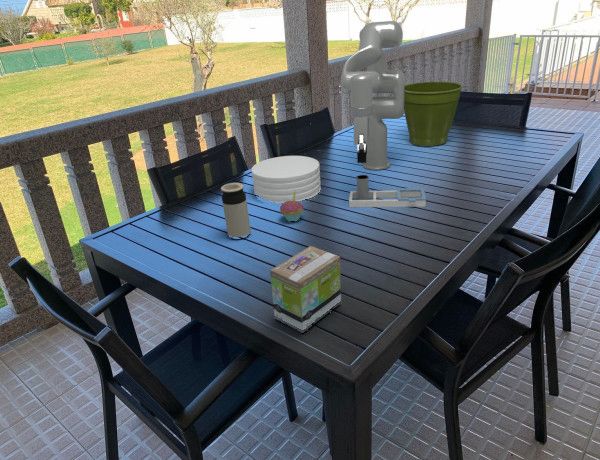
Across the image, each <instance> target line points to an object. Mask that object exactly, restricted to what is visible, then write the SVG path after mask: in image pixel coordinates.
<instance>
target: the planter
mask: <svg viewBox="0 0 600 460" xmlns="http://www.w3.org/2000/svg"><path fill="white" fill-rule="evenodd" d="M369 179H370V177H369V176H368V175H367V174H359V175H357V176H356V191H357V198H356V200H370V198H369V191H370V187H369V186H370V181H369Z"/></svg>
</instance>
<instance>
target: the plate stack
mask: <svg viewBox="0 0 600 460" xmlns="http://www.w3.org/2000/svg"><path fill="white" fill-rule="evenodd" d="M251 174H252V175H251V176H252V184H253V191H254V194H255V193H256V194H257V195H258V196H259V197H261V198H263V199H265V200H269V201H270V202H275V203H285V202H287V201H293V196H294V191H295V192H296V194H295V201H302V200H305V199H309V198H312V197H314V196H316V195H317V194H318V193H319V192H320V190H321V191H322V188H321V171H320V162H319V161H318V160H317V159H315V158H313V157H309V156H305V155H304V156H303V155H284V156H277V157H271V158H267V159H264V160H261V161H260V162H257V163H255V164H254V165H253V166H252V167H251ZM320 193H321V192H320ZM320 193H319V194H320ZM317 196H318V195H317ZM317 196H316V197H317ZM314 198H315V197H314Z"/></svg>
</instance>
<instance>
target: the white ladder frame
mask: <svg viewBox="0 0 600 460" xmlns="http://www.w3.org/2000/svg"><path fill="white" fill-rule="evenodd" d="M370 198H371V199H370ZM378 198H380V199H378ZM381 198H385V199H381ZM386 198H394V199H386ZM395 198H396V199H395ZM426 204H427V197H426V193H425V189H424V188H414V187H411V186H410V187H406V188H397V189H396V190H369V200H357V190H351V191H349V199H348V206H349V208H400V207H401V208H404V207H405V208H406V207H407V208H410V207H412V208H413V207H415V208H416V207H417V208H418V207H421V208H424V207H426V206H427V205H426Z"/></svg>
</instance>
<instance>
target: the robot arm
mask: <svg viewBox="0 0 600 460" xmlns="http://www.w3.org/2000/svg"><path fill="white" fill-rule="evenodd" d="M403 39H404V33H403V28H402V26H401V24H400V23H399V22H397V21H395V20H386V21H373V22H369V23H367V24H365V25H364V26H363V27H362V29H360V31H359V45H358V50H357V51H356V52H355V53H353V54H352V55H351V56H350V57H349V58H347V60H346V61H345V63H344V64H343V66H342V67H343V68H342V72H341V75H340V88H341V91H342V92H343V93H344V94H348V95H350V117H351V118H353V145H354V146H357V152H356V162H357V164H362V167H363V168H364V169H366V170H369V171H382V170H386V169H389V167H391V163H390V161H388V127H387V125H386V124H385V122H384V121H383V120H393V119H394V120H396V119H398V120H399V119H401V118H402V117H403V115H404V114H405V112H404V95H405V85H406V83H405V73H404V72H403V71H402V70H401V69H388V56H387V54H386V53H385V50H383V49H389V48H390V49H392V48H394V49H395V48H399V47H400V46H401V45H402V42H403ZM366 68H367V69H366ZM362 69H363V70H364V69H366V70H365V71H363V70H362ZM361 70H362V71H361ZM373 94H392V95H391V96H390V95H389V96H386V95H385V96H382V95H381V96H373Z"/></svg>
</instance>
